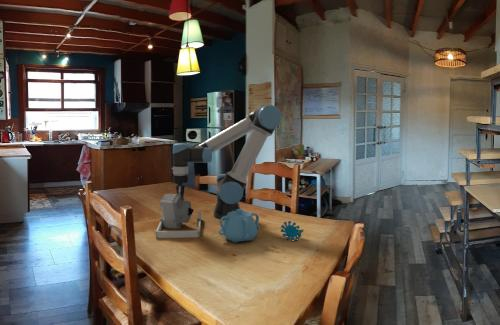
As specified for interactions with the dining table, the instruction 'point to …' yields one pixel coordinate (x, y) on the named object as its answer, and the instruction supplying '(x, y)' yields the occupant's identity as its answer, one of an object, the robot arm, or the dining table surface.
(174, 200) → the circuit breaker
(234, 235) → the decorative pot
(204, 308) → the dining table surface
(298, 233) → the teal spiky ornament
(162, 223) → the dark gray open bay
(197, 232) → the parts bay
